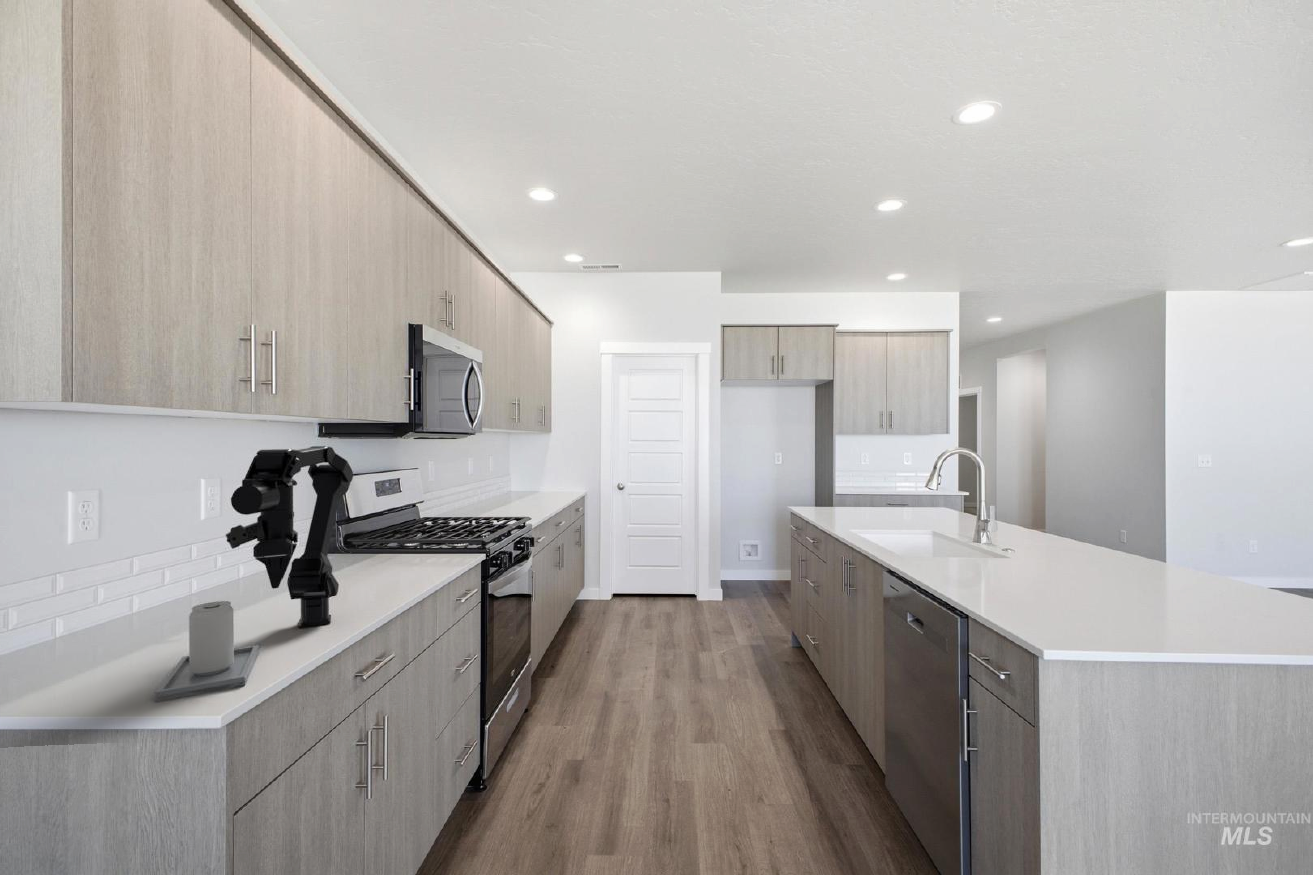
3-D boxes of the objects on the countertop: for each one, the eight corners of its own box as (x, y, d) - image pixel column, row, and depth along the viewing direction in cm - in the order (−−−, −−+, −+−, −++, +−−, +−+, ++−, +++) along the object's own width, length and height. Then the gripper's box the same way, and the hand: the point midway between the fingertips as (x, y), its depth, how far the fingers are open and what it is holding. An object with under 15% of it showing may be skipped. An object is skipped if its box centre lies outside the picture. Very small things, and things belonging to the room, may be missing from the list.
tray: (182, 665, 108) (182, 656, 108) (258, 652, 114) (258, 645, 114) (154, 702, 92) (154, 692, 92) (244, 685, 98) (244, 676, 98)
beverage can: (189, 680, 98) (189, 612, 99) (189, 669, 103) (188, 604, 103) (235, 670, 103) (234, 604, 103) (232, 660, 107) (232, 597, 108)
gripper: (237, 507, 122) (237, 579, 122) (220, 516, 106) (221, 599, 106) (297, 504, 128) (298, 573, 127) (290, 512, 111) (291, 591, 111)
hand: (277, 583), depth 118 cm, fingers open, 9 cm apart
